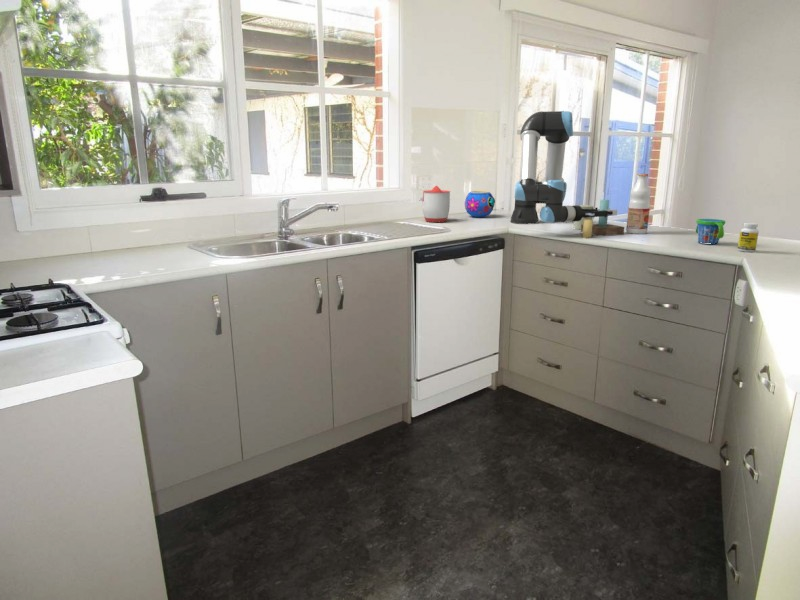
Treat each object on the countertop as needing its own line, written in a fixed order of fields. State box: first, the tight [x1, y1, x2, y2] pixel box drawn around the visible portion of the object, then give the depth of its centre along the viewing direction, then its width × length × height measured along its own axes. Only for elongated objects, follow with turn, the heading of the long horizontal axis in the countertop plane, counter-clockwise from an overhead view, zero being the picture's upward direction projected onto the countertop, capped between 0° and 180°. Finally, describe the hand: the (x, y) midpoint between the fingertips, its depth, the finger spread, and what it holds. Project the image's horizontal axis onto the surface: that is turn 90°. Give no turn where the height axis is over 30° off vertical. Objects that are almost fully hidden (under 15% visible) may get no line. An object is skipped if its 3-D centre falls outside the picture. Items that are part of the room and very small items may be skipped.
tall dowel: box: [597, 199, 610, 227], centre depth 269 cm, size 4×4×16 cm
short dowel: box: [581, 219, 594, 239], centre depth 257 cm, size 4×4×8 cm
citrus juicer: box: [419, 185, 451, 223], centre depth 313 cm, size 16×17×20 cm
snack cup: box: [695, 218, 726, 245], centre depth 239 cm, size 16×10×10 cm
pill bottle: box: [737, 222, 760, 253], centre depth 221 cm, size 6×6×11 cm
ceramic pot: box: [464, 190, 496, 218], centre depth 334 cm, size 18×18×15 cm
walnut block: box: [580, 223, 625, 236], centre depth 271 cm, size 14×14×4 cm
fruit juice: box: [626, 173, 652, 235], centre depth 268 cm, size 9×9×28 cm
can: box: [573, 204, 595, 230], centre depth 286 cm, size 9×9×12 cm
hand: (613, 211), depth 270 cm, fingers open, 4 cm apart
